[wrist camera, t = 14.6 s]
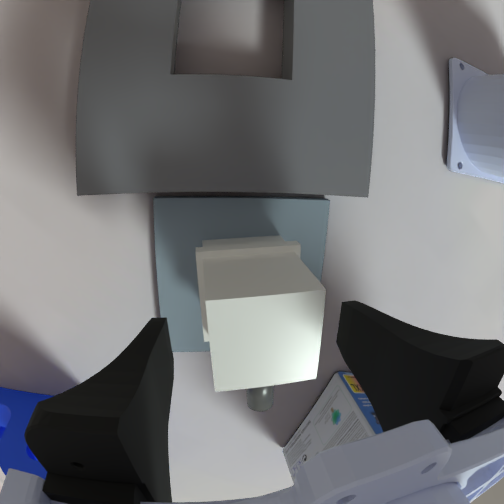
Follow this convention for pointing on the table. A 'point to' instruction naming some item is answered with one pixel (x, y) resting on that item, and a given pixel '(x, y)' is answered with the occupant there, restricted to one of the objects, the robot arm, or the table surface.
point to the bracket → (18, 431)
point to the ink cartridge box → (333, 421)
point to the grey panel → (226, 106)
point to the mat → (223, 227)
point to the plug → (259, 314)
